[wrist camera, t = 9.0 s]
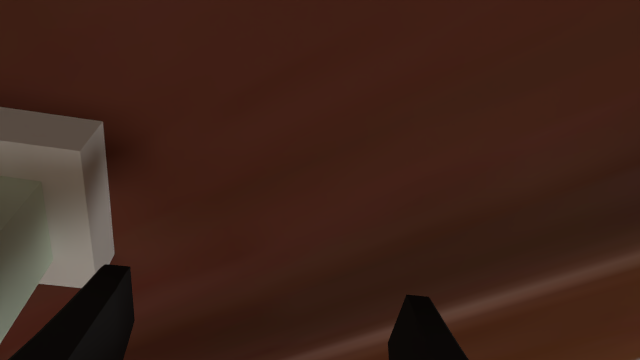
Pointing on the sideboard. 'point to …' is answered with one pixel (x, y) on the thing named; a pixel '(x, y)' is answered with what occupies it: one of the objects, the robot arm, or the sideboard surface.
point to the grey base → (63, 187)
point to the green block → (21, 245)
